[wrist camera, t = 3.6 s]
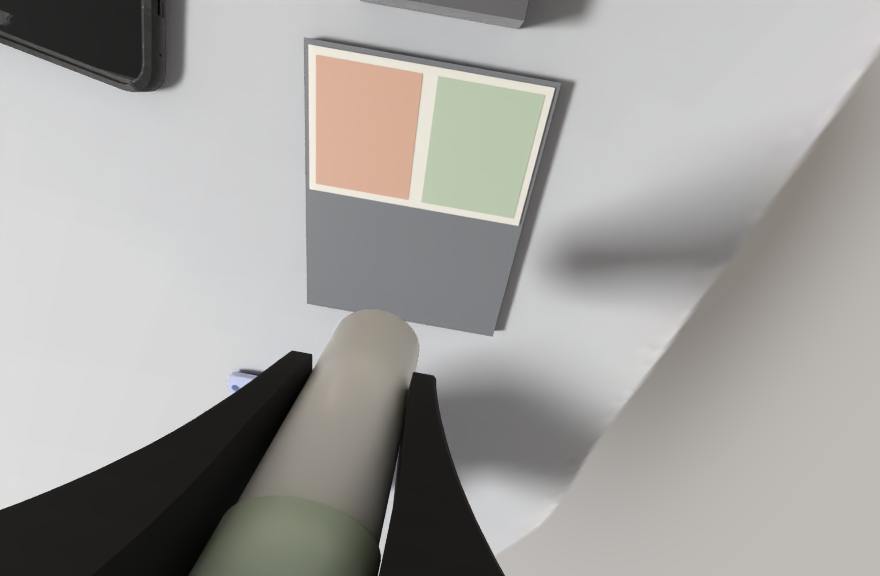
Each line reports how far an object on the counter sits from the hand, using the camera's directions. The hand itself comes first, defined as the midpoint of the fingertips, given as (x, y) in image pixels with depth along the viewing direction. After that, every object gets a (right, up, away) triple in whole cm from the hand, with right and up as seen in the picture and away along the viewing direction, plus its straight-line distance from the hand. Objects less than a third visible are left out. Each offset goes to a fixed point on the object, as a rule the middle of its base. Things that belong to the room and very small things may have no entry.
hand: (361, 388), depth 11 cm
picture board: (+1, +7, +6) cm, 9 cm away
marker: (0, +1, +2) cm, 2 cm away
